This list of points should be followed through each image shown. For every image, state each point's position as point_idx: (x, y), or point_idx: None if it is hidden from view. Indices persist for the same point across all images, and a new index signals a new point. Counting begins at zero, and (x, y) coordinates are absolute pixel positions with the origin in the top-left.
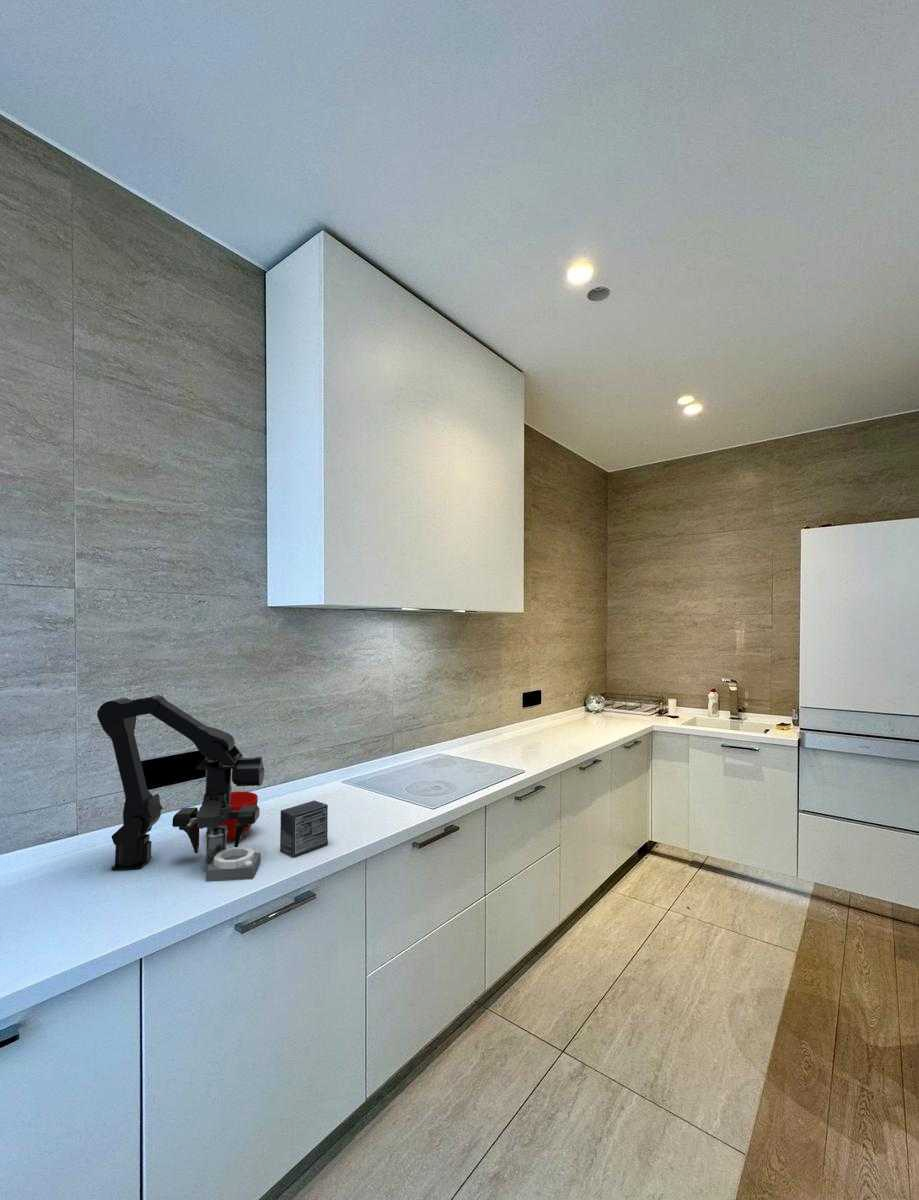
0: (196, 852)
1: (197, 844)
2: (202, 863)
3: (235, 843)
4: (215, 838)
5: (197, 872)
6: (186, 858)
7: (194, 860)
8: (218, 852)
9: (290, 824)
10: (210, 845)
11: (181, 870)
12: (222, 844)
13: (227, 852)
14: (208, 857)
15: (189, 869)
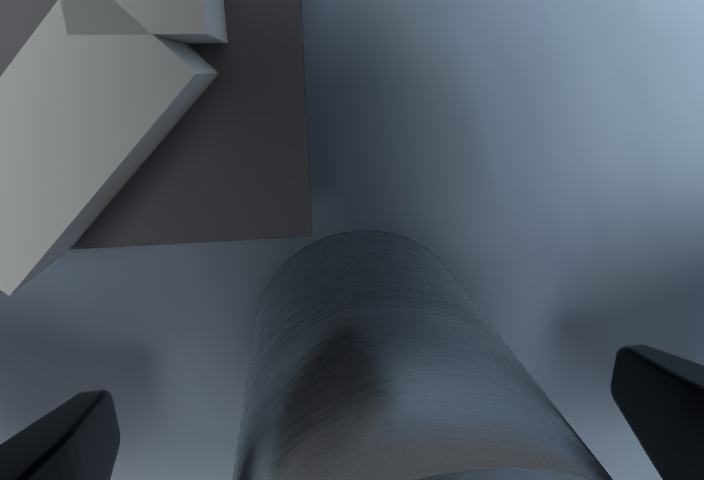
0: (629, 349)
1: (699, 444)
2: (486, 260)
3: (2, 470)
4: (419, 474)
5: (484, 6)
6: None
7: (584, 333)
8: (188, 27)
9: None
10: (479, 359)
11: (678, 90)
12: (258, 419)
13: (3, 96)
14: (441, 273)
15: (595, 110)
